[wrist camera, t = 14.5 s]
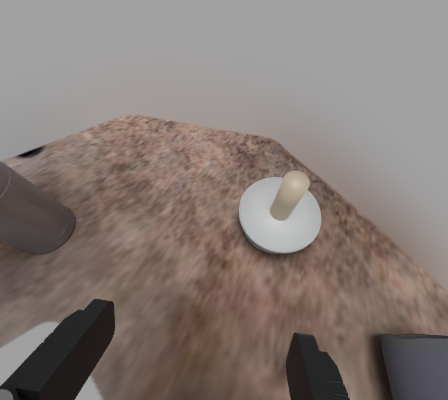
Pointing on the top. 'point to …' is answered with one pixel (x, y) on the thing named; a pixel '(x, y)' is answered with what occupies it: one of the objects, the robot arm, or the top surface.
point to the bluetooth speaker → (416, 366)
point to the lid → (280, 213)
